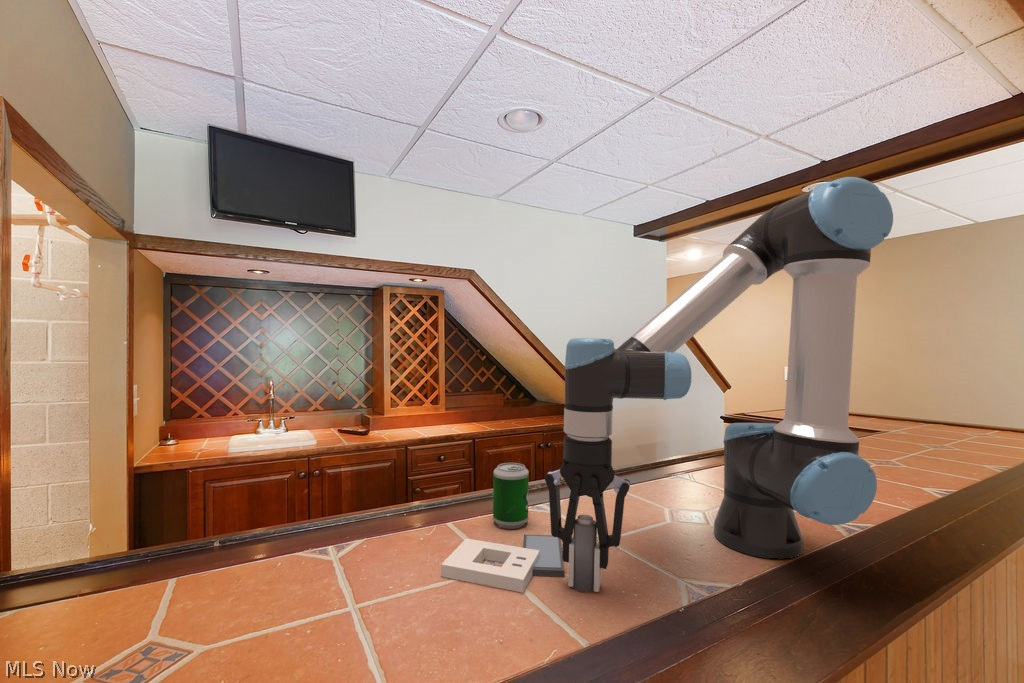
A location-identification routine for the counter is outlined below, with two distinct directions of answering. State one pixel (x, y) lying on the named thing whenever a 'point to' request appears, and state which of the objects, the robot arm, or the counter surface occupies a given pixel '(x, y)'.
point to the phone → (546, 555)
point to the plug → (584, 552)
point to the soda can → (510, 495)
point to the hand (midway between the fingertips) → (584, 584)
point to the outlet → (508, 577)
